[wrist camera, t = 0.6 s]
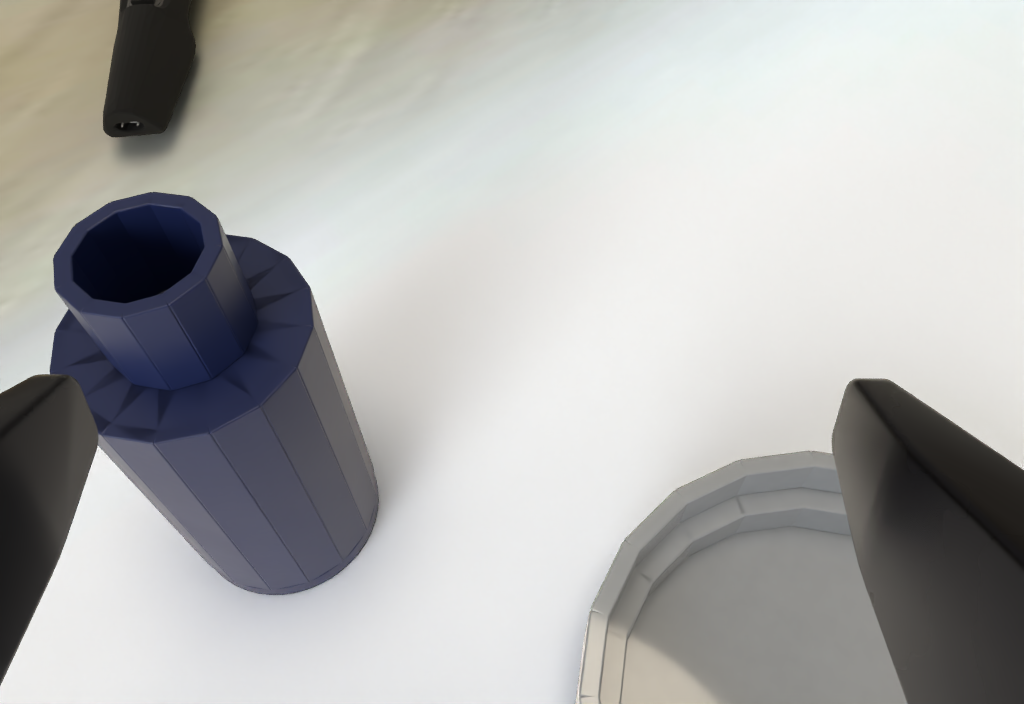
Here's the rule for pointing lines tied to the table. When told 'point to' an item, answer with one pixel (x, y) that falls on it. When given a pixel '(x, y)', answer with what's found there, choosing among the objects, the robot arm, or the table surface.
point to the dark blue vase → (215, 390)
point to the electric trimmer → (147, 66)
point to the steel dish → (740, 598)
